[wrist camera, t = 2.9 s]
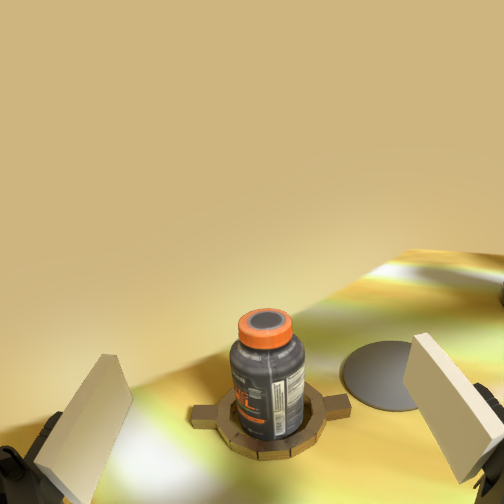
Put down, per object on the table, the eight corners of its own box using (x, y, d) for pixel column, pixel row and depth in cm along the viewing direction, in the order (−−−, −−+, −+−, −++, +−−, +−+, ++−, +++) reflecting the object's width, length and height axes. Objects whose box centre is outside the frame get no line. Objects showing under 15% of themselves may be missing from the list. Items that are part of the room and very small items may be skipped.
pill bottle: (229, 413, 27) (212, 314, 23) (281, 391, 29) (276, 294, 26) (260, 453, 21) (248, 351, 18) (316, 424, 24) (321, 321, 21)
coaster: (417, 337, 34) (418, 334, 34) (462, 393, 23) (463, 390, 23) (332, 352, 35) (333, 348, 35) (359, 422, 23) (360, 419, 23)
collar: (336, 378, 30) (337, 369, 29) (359, 447, 20) (362, 438, 20) (201, 389, 30) (199, 379, 30) (187, 460, 21) (184, 451, 20)
